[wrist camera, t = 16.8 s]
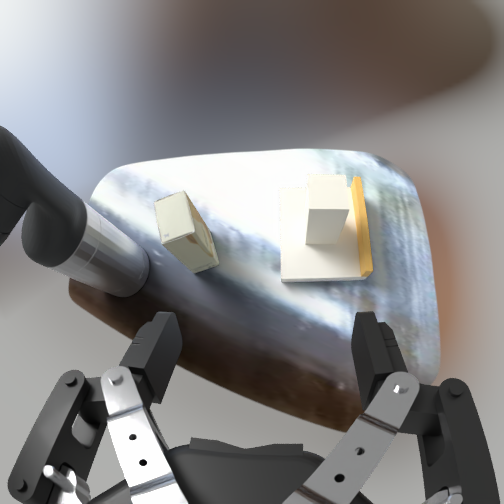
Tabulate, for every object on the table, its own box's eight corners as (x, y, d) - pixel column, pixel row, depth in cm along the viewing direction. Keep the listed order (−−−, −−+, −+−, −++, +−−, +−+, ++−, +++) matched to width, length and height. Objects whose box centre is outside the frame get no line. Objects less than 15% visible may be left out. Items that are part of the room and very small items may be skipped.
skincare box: (220, 265, 45) (196, 234, 33) (193, 274, 45) (161, 247, 33) (209, 227, 47) (184, 188, 35) (183, 236, 47) (152, 200, 35)
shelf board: (281, 282, 43) (280, 273, 38) (280, 194, 47) (278, 177, 42) (364, 279, 41) (373, 270, 36) (354, 193, 46) (360, 176, 41)
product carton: (305, 244, 42) (309, 209, 31) (304, 215, 43) (307, 174, 33) (337, 244, 41) (351, 209, 31) (336, 215, 43) (347, 175, 32)
